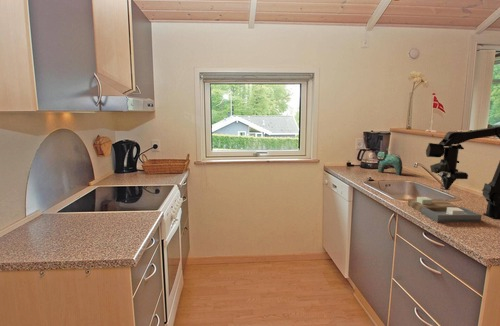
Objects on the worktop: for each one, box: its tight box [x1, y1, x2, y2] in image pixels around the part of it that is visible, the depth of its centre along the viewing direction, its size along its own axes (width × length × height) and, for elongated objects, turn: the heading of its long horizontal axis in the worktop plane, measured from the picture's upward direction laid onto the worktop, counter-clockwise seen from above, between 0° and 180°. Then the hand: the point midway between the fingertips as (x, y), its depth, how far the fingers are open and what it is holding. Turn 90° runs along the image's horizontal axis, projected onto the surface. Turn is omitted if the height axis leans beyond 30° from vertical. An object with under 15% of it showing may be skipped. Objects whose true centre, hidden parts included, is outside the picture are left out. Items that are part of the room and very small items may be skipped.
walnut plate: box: [407, 199, 460, 213], centre depth 162 cm, size 14×18×3 cm
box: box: [420, 206, 483, 224], centre depth 148 cm, size 13×20×4 cm, turn 92°
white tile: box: [447, 207, 464, 214], centre depth 149 cm, size 5×5×2 cm
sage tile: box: [416, 196, 433, 204], centre depth 162 cm, size 5×5×2 cm
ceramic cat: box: [376, 148, 403, 176], centre depth 254 cm, size 20×6×20 cm, turn 40°
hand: (446, 189), depth 154 cm, fingers closed
